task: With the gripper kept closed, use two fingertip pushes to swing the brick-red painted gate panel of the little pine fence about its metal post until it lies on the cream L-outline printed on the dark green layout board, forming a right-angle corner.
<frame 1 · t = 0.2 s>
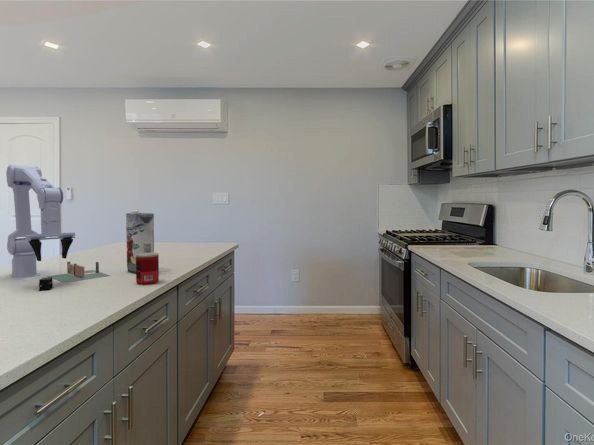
hand: (51, 259, 124), 10 cm above the worktop, tool pointing down, fingers open, 7 cm apart
gate panel: (79, 270, 138), point 3 cm above the worktop, hinge at 0.0°
canned food: (147, 283, 132), on the worktop
layout card: (79, 276, 140), on the worktop
fixed fence: (72, 274, 143), resting on layout card
juice carton: (140, 272, 150), on the worktop
black small block: (46, 291, 119), on the worktop
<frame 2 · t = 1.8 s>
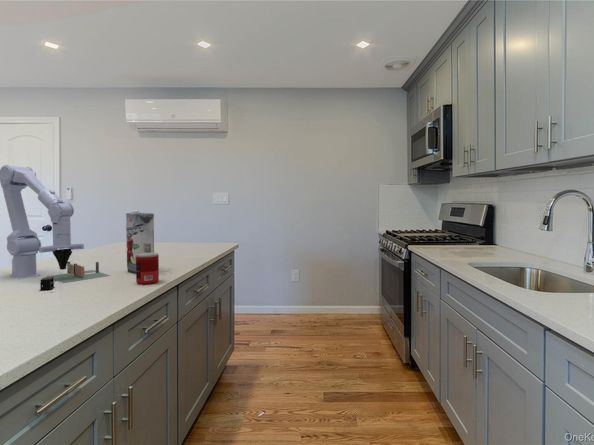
hand: (62, 269, 134), 4 cm above the worktop, tool pointing down, fingers closed
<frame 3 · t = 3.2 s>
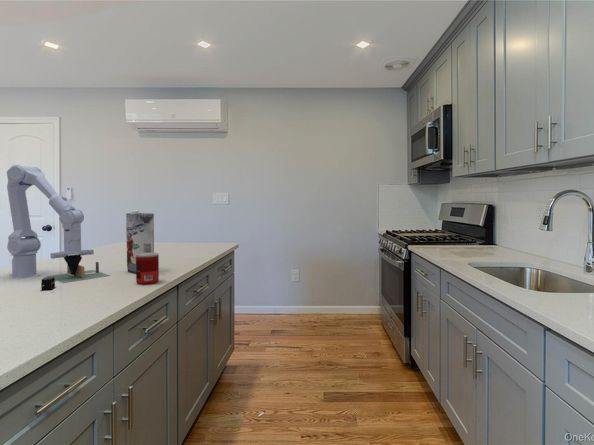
hand: (73, 274, 137), 1 cm above the worktop, tool pointing down, fingers closed, pressing on gate panel
gate panel: (79, 270, 138), point 3 cm above the worktop, hinge at 0.0°, touching gripper
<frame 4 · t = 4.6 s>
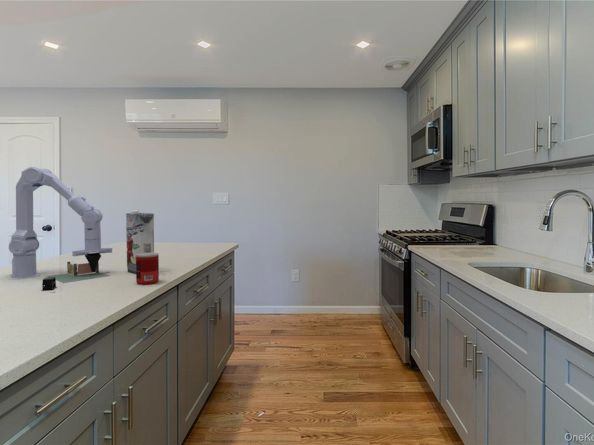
hand: (93, 271, 143), 1 cm above the worktop, tool pointing down, fingers closed, pressing on gate panel
gate panel: (87, 268, 144), point 3 cm above the worktop, hinge at 83.2°, touching gripper
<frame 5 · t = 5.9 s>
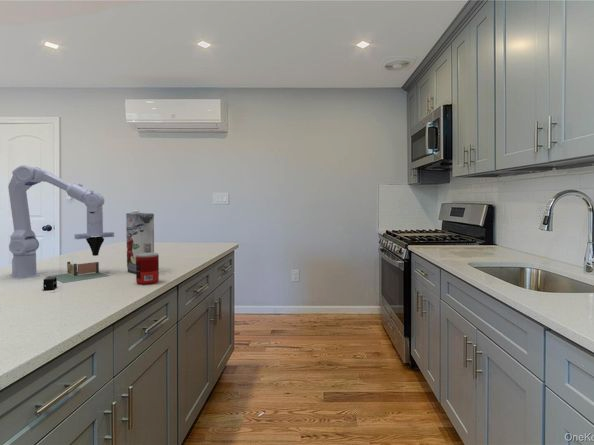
hand: (95, 255, 144), 8 cm above the worktop, tool pointing down, fingers closed
gate panel: (87, 268, 144), point 3 cm above the worktop, hinge at 85.2°
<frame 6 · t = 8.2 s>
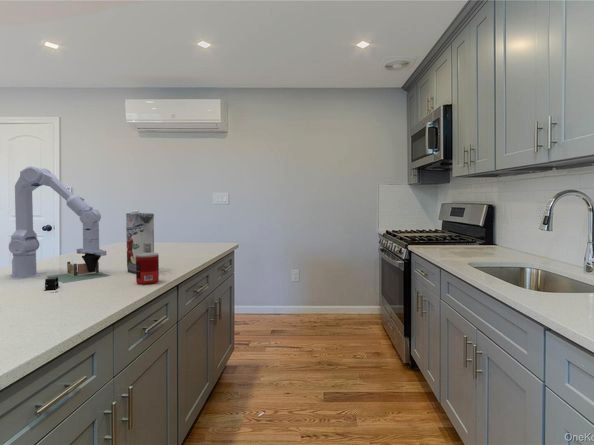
hand: (91, 271, 143), 1 cm above the worktop, tool pointing down, fingers closed
gate panel: (87, 268, 144), point 3 cm above the worktop, hinge at 85.3°, touching gripper
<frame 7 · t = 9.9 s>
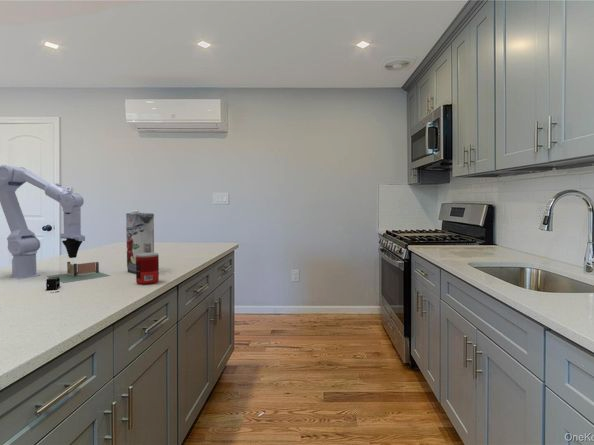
hand: (72, 257, 139), 8 cm above the worktop, tool pointing down, fingers closed
gate panel: (86, 267, 144), point 3 cm above the worktop, hinge at 91.5°
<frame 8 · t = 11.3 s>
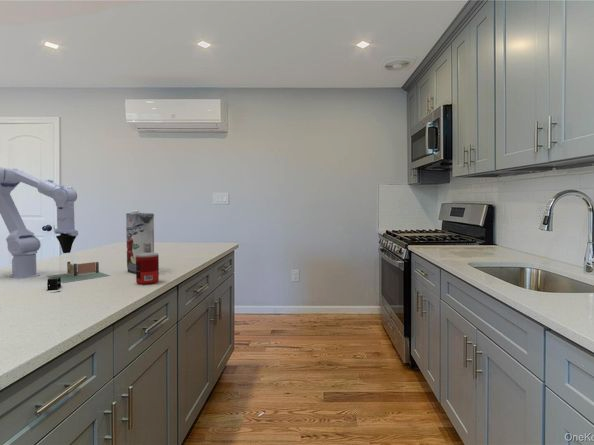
hand: (66, 252, 138), 10 cm above the worktop, tool pointing down, fingers closed
at the end: gate panel at +92° (first picture: +0°) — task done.
